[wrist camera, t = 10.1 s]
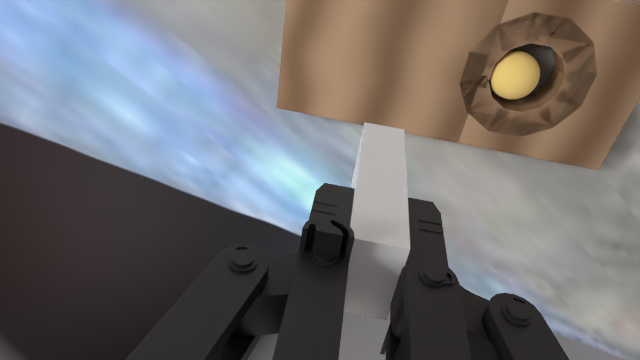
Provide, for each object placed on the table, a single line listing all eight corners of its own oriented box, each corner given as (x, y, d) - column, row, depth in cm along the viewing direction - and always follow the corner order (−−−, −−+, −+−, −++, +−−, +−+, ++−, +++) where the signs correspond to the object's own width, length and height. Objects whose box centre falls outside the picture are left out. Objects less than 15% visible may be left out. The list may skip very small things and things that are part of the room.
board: (283, 96, 39) (276, 107, 37) (298, -60, 32) (292, -56, 30) (587, 154, 38) (598, 169, 35) (668, 5, 31) (687, 13, 29)
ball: (489, 43, 33) (537, 54, 30) (510, 48, 35) (554, 58, 33) (473, 91, 34) (517, 104, 32) (494, 93, 36) (536, 105, 34)
